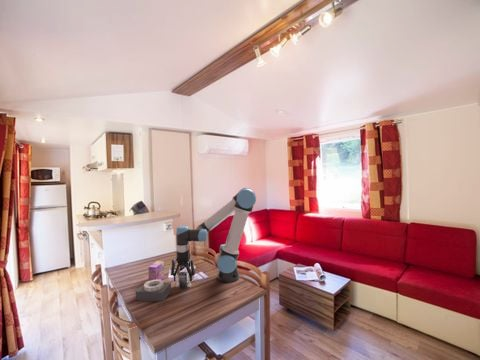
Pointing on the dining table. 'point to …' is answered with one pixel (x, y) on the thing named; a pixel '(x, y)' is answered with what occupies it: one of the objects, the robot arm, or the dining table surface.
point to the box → (156, 271)
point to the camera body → (153, 291)
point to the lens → (183, 280)
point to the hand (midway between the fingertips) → (183, 286)
